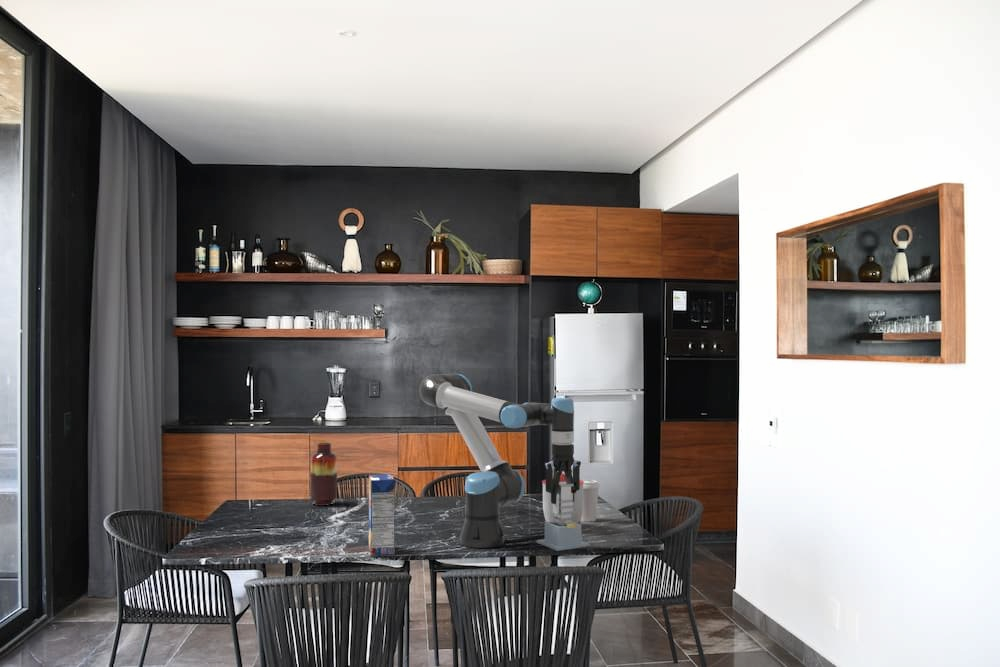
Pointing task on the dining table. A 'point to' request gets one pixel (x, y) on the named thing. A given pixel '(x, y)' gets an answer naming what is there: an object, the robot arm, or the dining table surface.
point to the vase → (323, 475)
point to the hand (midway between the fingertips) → (562, 512)
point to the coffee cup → (590, 500)
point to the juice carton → (381, 515)
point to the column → (564, 505)
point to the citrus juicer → (576, 504)
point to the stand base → (562, 536)
